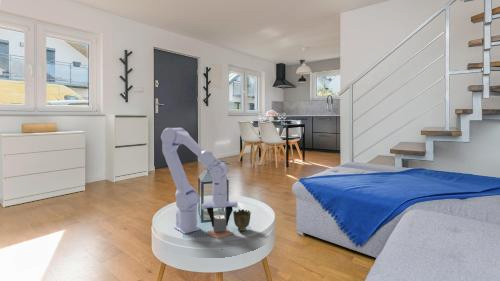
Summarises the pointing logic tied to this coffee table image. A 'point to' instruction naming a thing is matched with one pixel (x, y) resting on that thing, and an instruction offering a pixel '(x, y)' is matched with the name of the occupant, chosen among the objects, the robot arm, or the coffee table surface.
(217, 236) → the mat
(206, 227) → the coffee table surface
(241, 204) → the coffee table surface
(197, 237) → the coffee table surface
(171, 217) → the coffee table surface
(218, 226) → the letter block
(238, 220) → the cup
